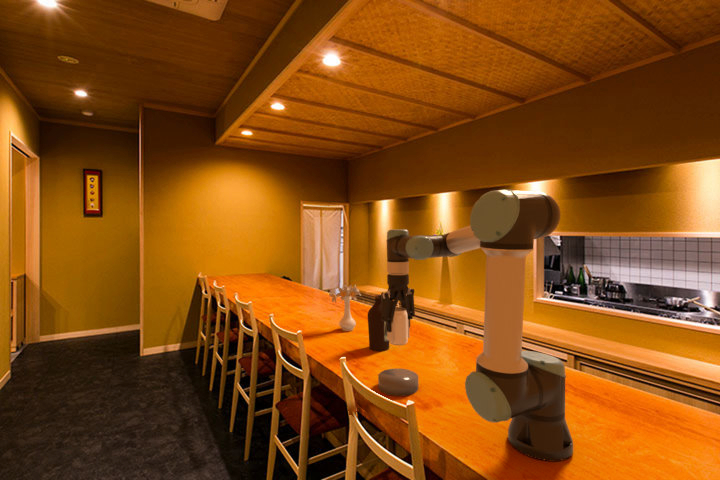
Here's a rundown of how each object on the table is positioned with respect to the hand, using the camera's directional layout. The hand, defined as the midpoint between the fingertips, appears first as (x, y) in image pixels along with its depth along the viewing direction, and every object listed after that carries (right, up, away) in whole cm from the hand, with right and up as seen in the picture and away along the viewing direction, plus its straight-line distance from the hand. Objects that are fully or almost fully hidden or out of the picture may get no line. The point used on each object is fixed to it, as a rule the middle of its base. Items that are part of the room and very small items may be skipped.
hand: (398, 338), depth 131 cm
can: (0, -2, 0) cm, 2 cm away
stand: (0, -17, +1) cm, 17 cm away
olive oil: (-4, -16, +44) cm, 47 cm away
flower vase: (-21, -15, +76) cm, 80 cm away
